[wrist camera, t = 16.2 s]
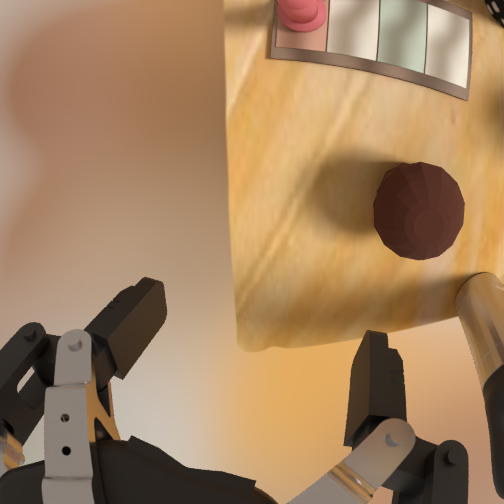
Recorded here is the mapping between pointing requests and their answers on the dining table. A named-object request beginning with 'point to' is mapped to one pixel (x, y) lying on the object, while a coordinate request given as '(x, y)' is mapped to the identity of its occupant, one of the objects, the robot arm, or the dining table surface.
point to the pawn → (302, 14)
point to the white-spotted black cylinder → (496, 10)
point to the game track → (388, 41)
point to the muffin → (418, 210)
